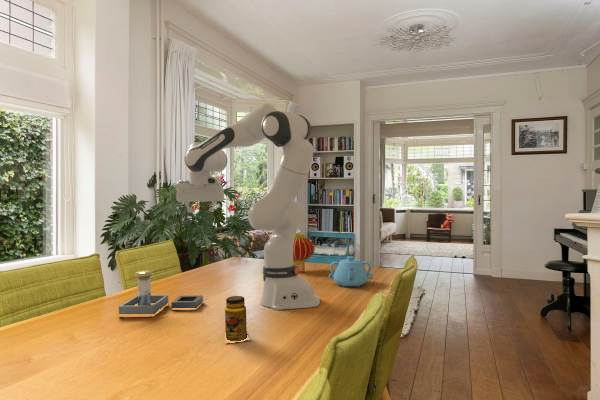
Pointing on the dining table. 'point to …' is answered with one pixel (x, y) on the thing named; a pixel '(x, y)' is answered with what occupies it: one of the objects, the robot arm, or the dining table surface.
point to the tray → (143, 309)
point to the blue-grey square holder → (187, 301)
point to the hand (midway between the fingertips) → (200, 212)
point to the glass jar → (144, 287)
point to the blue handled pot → (350, 272)
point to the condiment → (235, 319)
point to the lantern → (302, 250)
